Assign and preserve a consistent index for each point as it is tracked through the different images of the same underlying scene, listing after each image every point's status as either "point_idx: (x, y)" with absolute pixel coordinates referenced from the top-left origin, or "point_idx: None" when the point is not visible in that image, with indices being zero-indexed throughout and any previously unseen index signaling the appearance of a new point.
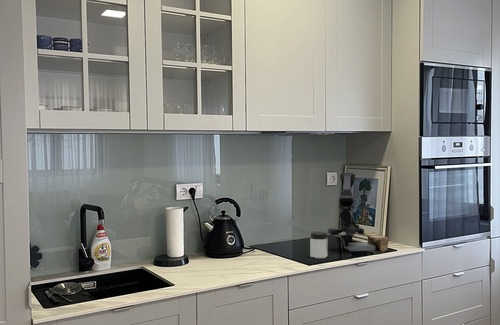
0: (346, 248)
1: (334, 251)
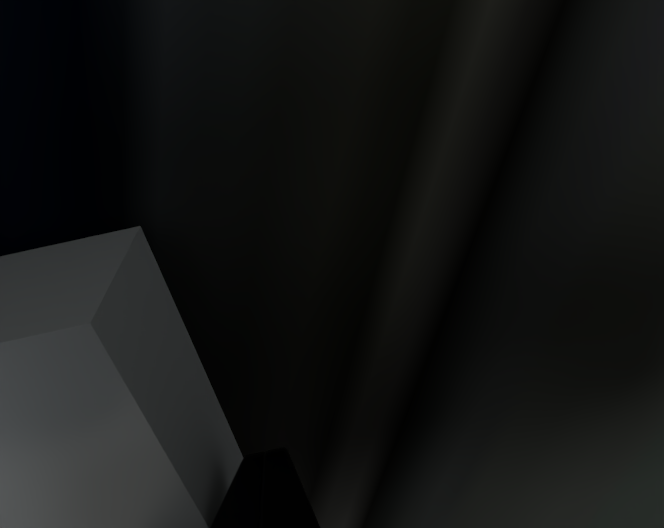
0: None
1: (659, 193)
